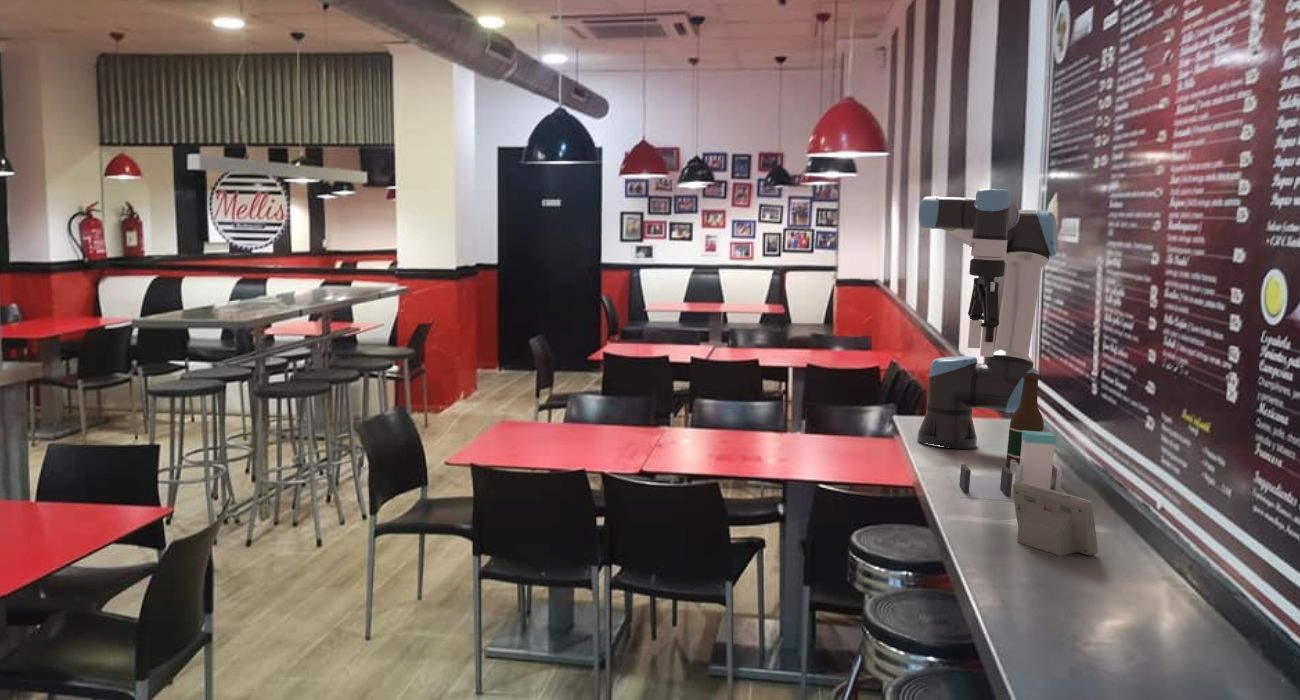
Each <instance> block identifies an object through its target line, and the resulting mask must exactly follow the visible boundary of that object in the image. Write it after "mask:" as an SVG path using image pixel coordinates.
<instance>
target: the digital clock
mask: <svg viewBox="0 0 1300 700" xmlns="http://www.w3.org/2000/svg"><path fill="white" fill-rule="evenodd" d="M1013 496H1014V509H1015V514H1016V515H1015V516H1016V521H1017V527H1018V529H1017V539H1016V540H1017V541H1016V542H1017V543H1019V544H1022V545H1025V546H1028V547H1030V548H1035V549H1037V550H1040V551H1043V552H1047V553H1048V554H1049V553H1050V554H1053V555H1056V556H1058V557H1062V556H1065V555H1070V554H1073V553H1080V554H1082V555H1086V556H1095V555H1096V554H1098V551H1099V548H1098V541H1097V540H1098V539H1097V532H1096V523H1095V515H1094V514H1095V513H1094V509H1093V508H1094V507H1093V503H1092V502H1091V501H1090V500H1088V499H1085V498H1083V497H1079V496H1075V495H1072V494H1069V493H1067V494H1065V493H1061V492H1057V491H1054V490H1050V489H1046V488H1043V487H1039V486H1035V485H1031V484H1027V483H1023V482H1015V483H1014V485H1013Z"/></svg>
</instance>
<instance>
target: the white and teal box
mask: <svg viewBox="0 0 1300 700" xmlns="http://www.w3.org/2000/svg"><path fill="white" fill-rule="evenodd" d="M1056 440H1057V436H1056V435H1055V434H1054V433H1053V432H1051V431H1043V432H1038V431H1024V430H1022V445H1021V455H1020V466H1021V473H1020V482H1023V483H1027V484H1031V485H1035V486H1039V487H1043V488H1046V489H1050V487H1051V477H1052V467H1053V463H1054V456H1055V445H1056Z"/></svg>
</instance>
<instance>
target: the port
mask: <svg viewBox="0 0 1300 700" xmlns="http://www.w3.org/2000/svg"><path fill="white" fill-rule="evenodd" d="M1010 471H1011V472H1012V474H1013V477H1012V486H1013V485H1014V483H1015V482H1020V473H1021V466H1020V465H1019V464H1018V462H1017V461H1016V460H1011V461H1010ZM1062 473H1063V469H1062V467H1060V466H1059V465H1058V464H1057V463H1056V462H1053V467H1052V477H1051V488H1052V489H1053V490H1054V491H1057V492H1060V487H1062V485H1061V484H1062V477H1063V476H1062Z"/></svg>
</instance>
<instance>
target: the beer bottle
mask: <svg viewBox="0 0 1300 700" xmlns="http://www.w3.org/2000/svg"><path fill="white" fill-rule="evenodd" d="M1023 378H1024V383H1023V390H1022V396H1021V402H1020V405H1019V408H1018V409H1017V410H1016V411H1015V412H1013V414H1012V416H1011V418H1010V423H1009V428H1008V429H1009V430H1008V438H1007V439H1008V440H1007V449H1006V460H1005V467H1007V468H1008V469H1009V470H1010V461H1011V460H1016V461H1017V462H1018V464H1019V465H1020V455H1021V445H1022V430H1024V431H1038V432H1044V424H1045V423H1044V422H1045V421H1044V418H1043V414H1042V413H1041V411H1040V410H1039V406H1038V405H1039V403H1038V397H1039V394H1038V391H1039V380H1040V374H1039V375H1038V374H1035V373H1025V374H1024V376H1023Z"/></svg>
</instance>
